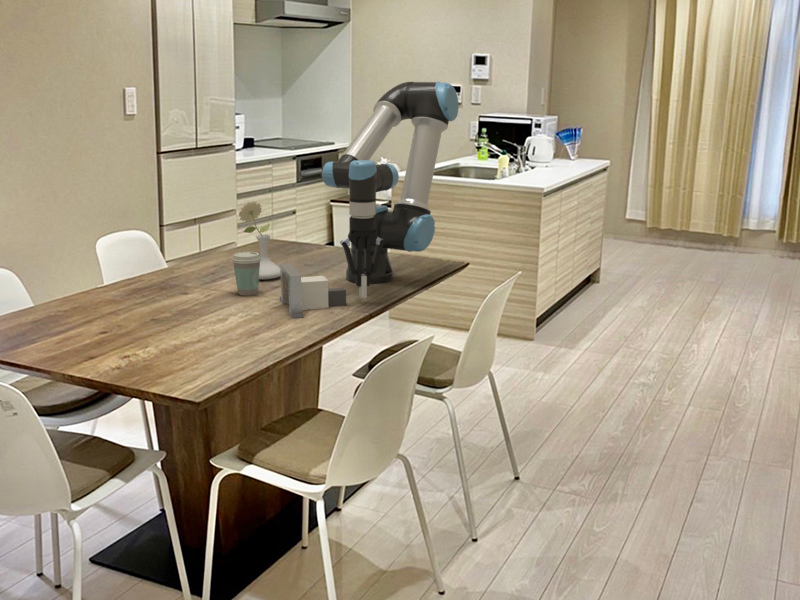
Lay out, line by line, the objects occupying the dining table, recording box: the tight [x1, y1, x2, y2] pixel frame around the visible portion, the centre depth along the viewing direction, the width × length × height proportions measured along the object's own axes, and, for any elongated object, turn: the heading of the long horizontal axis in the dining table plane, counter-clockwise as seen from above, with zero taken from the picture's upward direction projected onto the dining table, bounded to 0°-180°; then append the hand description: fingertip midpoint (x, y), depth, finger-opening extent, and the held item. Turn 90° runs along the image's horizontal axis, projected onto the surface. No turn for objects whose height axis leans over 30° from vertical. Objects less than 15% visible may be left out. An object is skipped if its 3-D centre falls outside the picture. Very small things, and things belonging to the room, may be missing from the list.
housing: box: [279, 262, 305, 319], centre depth 249 cm, size 3×21×11 cm, turn 17°
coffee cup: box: [231, 251, 261, 297], centre depth 264 cm, size 8×9×12 cm
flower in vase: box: [238, 200, 280, 280], centre depth 281 cm, size 13×11×25 cm
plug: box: [301, 275, 347, 311], centre depth 251 cm, size 16×6×8 cm, turn 107°
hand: (363, 297), depth 256 cm, fingers closed
